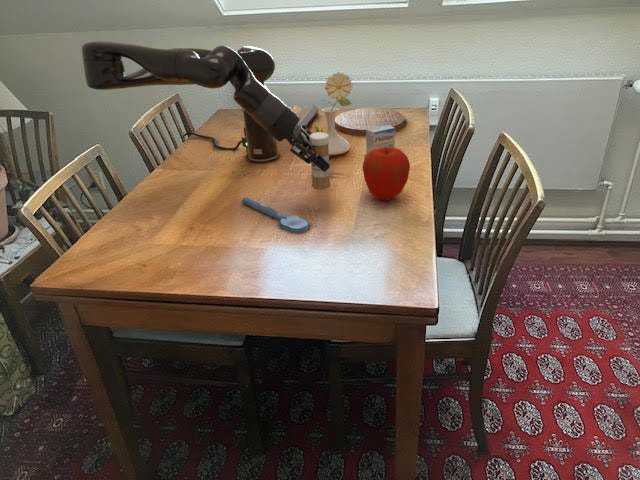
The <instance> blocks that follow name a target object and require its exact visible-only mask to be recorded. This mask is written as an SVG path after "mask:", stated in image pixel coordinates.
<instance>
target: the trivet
mask: <svg viewBox="0 0 640 480" xmlns="http://www.w3.org/2000/svg"><path fill="white" fill-rule="evenodd" d="M384 125H390V126H392V127H394V128H395V132H396V131H399V130H400V129H402V128H403V127H404V126H405V116H404V114H403V113H401V112H399V111H398V110H397V111H396V110H393V109H389V108H388V109H387V108H380V107H366V108H365V107H363V108H356V109H351V110H346V111H344V112H342V113H339V114H338V115H336V116H335V129H336V130H338V131H340V132H341V133H342V132H343V133H345V134H350V135H357V136H366V129H371V128H375V127H380V126H384Z"/></svg>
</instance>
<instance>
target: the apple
mask: <svg viewBox="0 0 640 480" xmlns="http://www.w3.org/2000/svg"><path fill="white" fill-rule="evenodd" d="M361 168H362V173H363V177H364V181H365V184H366V187H367V189H368V192H369V193H370V194H371V195H372V196H373V197H374V198H376V199H377V200H379V201H390V200H392V199H394V198H395V197H397V196H398V195H400V194H401V193H402V192H403V190H404V188H405V187H406V184H407V183H408V180H409V175H410V168H411V164H410V160H409V158H408V156H407V155H406V153H405V152H404V151H402V150H401V149H399V148H397V147H395V148H393V147H382V148H377V149H373V150H371V151H370V152H369V153H368V154H367V155H366V154H365V155H364V160H363V162H362V167H361Z"/></svg>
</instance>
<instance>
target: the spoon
mask: <svg viewBox="0 0 640 480" xmlns="http://www.w3.org/2000/svg"><path fill="white" fill-rule="evenodd" d="M241 202H242V204H243V205H246V206H248V207H250V208H252V209H255V210H257V211H258V212H261V213H263V214H265V215H267V216H269V217H271V218H274V219H276V220H278V221H279V222H280V223H279V224H280V227H281V228H282V229H283V230H285V231H289V232H290V233H294V234H300V233H304V232H306V231H307V230H308V229H309V221H307V220H306V219H303V218H302V217H300V216H298V215H287V216H285V215H283V214H281V213H279V211H277V210H275V209H274V208H271V207H269V206H267V205H264V204H262V203H260V202H258V201H256V200H254V199H251V198H249V197H247V196H244V197H242V199H241Z"/></svg>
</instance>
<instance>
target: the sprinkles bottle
mask: <svg viewBox="0 0 640 480" xmlns="http://www.w3.org/2000/svg"><path fill="white" fill-rule="evenodd" d="M312 133H313V134H311V135H310V139H309V140H310V143H311V144H312V145H313V146H314V147H313V149H314V150H315V151H316V152H317V153H318V154H319V155H320V156H321V157H322V158H323V159H324V160H325V161H326V162H328V163H329V164H330V161H329V152H328V144H329V135H328V134H326V133H327V132H324V131H323V132H321V131H320V132H317V131H316V132H312ZM310 166H311V187H312V188H313V189H314V190H316V191H317V190H318V191H324V190H327V189H329V188H330V186H331V183H330V168H329V169H328V170H326V171H325V172H323V171H322V170H321V169H320V168H319V167H317V166H316V165H315V164H314V163H313V162H312V163H310Z"/></svg>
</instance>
